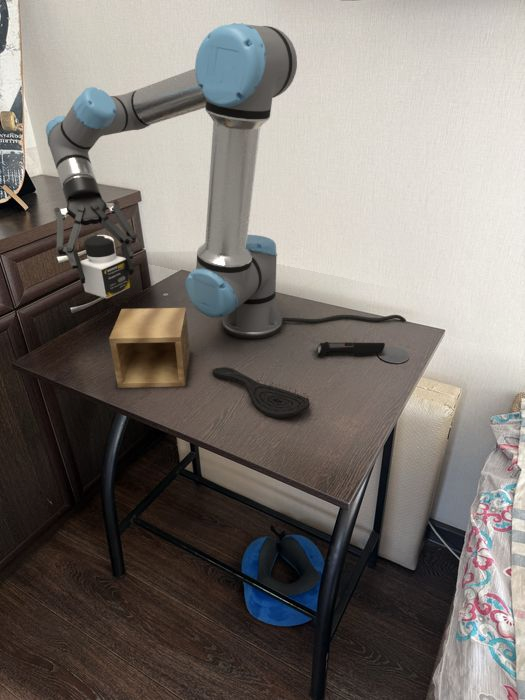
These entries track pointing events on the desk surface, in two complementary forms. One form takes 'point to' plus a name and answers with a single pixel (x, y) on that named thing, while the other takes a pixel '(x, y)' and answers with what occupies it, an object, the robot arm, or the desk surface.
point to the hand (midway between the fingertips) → (107, 276)
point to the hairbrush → (267, 395)
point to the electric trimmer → (349, 348)
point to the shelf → (150, 347)
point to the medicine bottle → (104, 268)
